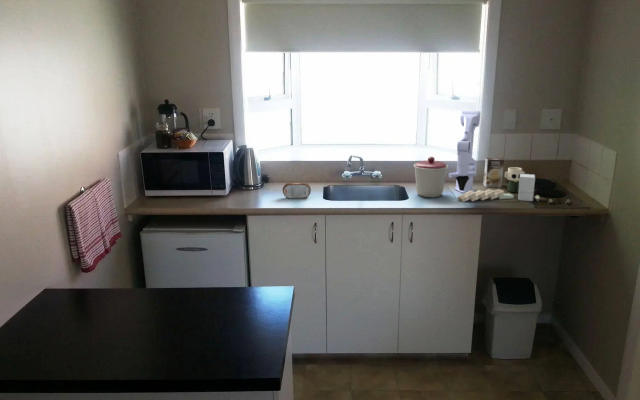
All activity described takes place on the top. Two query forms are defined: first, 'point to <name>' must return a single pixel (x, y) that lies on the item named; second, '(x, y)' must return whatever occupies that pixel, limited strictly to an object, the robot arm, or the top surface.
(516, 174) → the character mug
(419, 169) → the canister
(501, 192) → the domino
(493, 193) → the domino
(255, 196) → the top surface
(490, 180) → the coffee box
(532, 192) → the supplement box
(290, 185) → the tin
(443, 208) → the top surface
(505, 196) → the end domino
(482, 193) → the domino
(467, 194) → the domino
